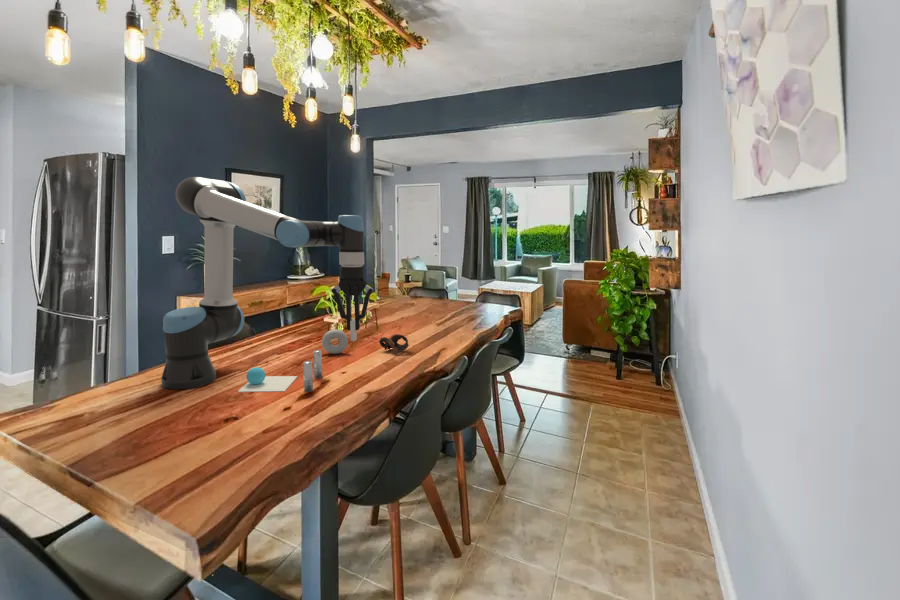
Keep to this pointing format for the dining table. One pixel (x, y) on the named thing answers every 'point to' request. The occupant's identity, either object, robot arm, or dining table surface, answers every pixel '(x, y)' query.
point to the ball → (255, 375)
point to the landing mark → (270, 384)
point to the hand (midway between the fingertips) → (353, 339)
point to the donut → (331, 348)
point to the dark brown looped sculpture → (394, 343)
